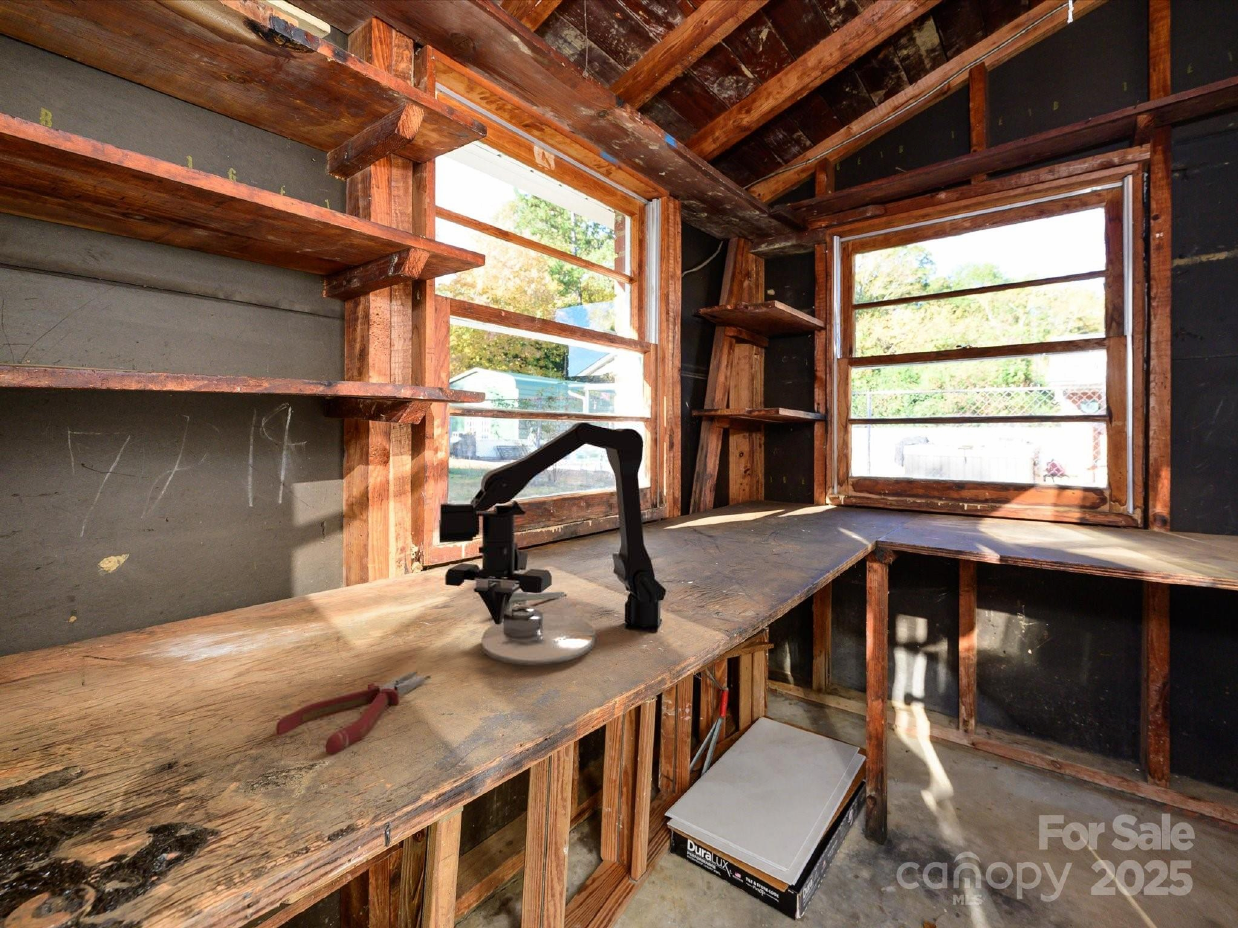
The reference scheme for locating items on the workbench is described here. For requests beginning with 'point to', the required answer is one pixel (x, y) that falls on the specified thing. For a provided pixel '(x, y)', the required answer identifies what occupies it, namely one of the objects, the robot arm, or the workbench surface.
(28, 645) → the workbench surface
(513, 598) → the caliper
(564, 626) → the turntable
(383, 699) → the pliers
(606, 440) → the robot arm
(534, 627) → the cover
